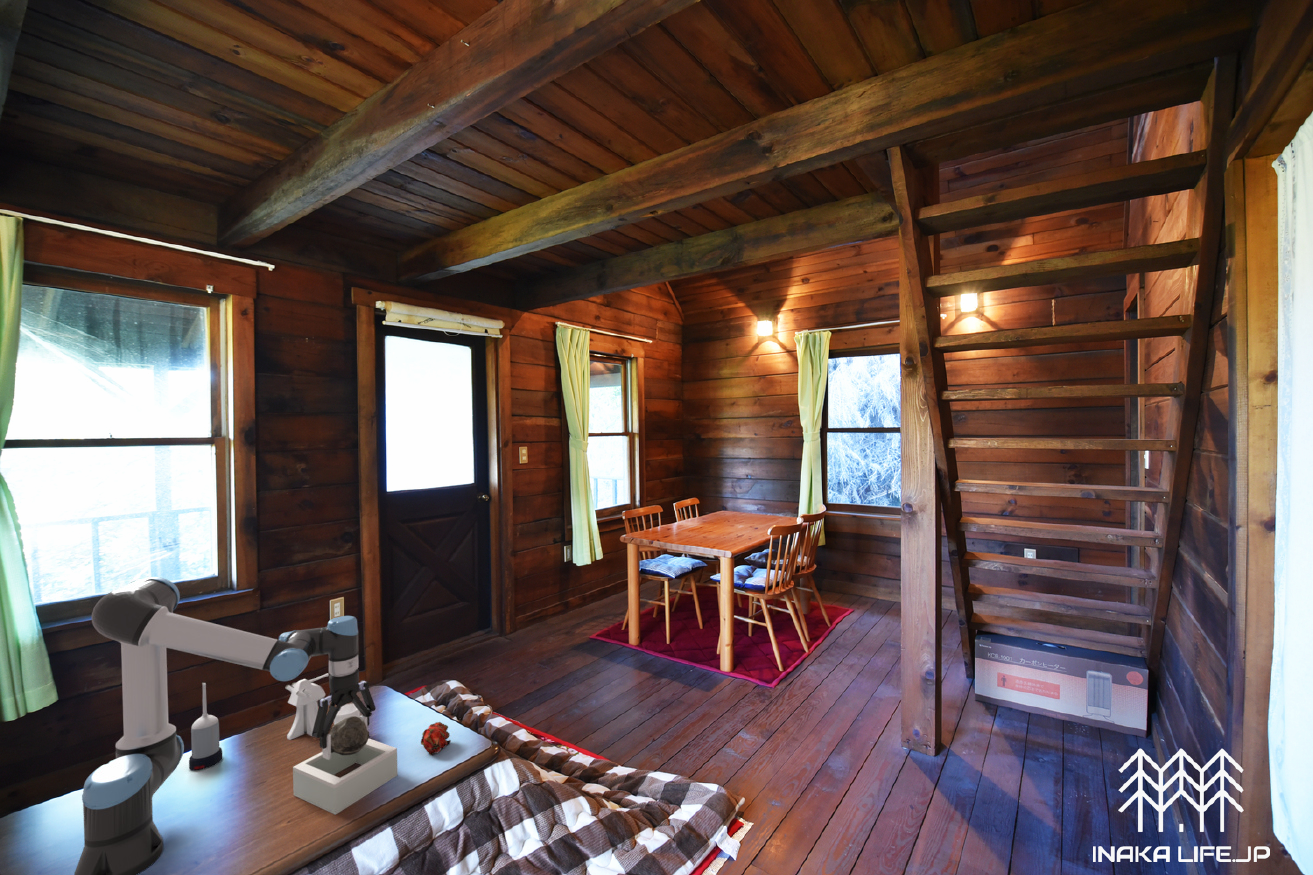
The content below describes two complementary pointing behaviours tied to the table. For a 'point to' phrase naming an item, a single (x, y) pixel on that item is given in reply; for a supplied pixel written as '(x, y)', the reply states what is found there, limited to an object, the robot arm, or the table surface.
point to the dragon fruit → (435, 738)
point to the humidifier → (205, 740)
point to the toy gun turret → (304, 705)
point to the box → (339, 793)
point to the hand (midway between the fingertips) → (345, 747)
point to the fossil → (349, 736)
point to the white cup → (346, 713)
